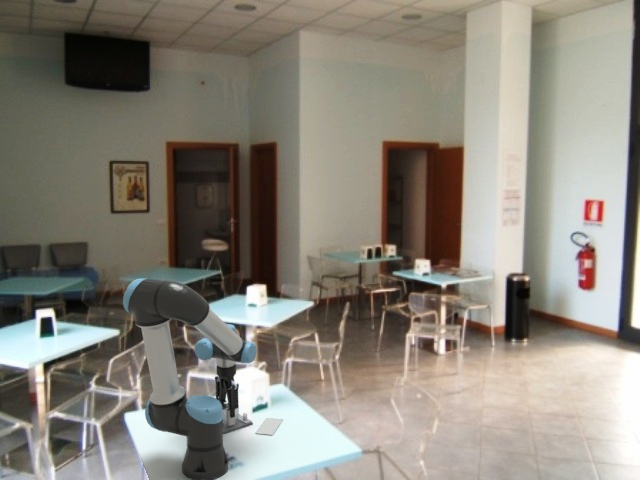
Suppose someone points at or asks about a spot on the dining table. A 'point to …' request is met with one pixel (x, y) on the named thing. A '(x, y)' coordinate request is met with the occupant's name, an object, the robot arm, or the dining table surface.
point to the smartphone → (269, 426)
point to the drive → (225, 415)
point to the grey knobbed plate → (238, 424)
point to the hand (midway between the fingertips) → (227, 422)
